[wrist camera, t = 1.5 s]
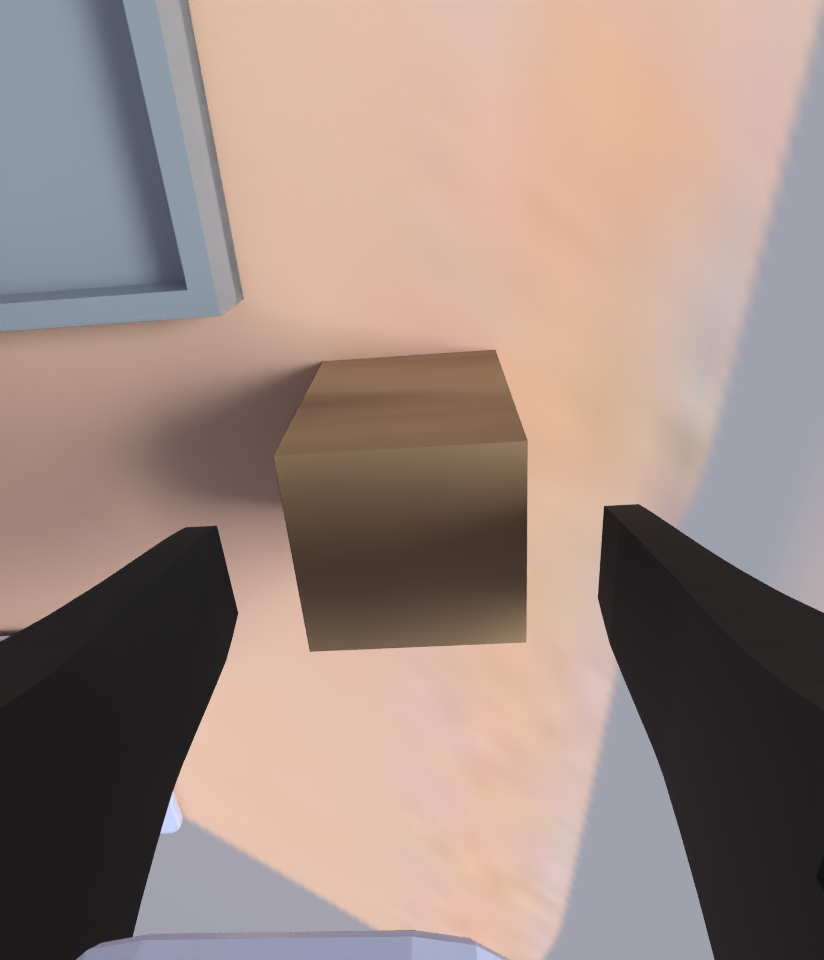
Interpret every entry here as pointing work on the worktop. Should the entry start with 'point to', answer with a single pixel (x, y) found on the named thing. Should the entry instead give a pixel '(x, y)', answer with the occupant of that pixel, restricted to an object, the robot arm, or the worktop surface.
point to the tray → (107, 168)
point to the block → (407, 503)
